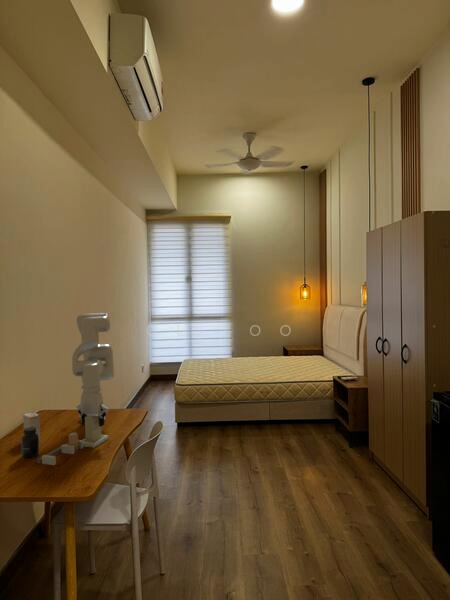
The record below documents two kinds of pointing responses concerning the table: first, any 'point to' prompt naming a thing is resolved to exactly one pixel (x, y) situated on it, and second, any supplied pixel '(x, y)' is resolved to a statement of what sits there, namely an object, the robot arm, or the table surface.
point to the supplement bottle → (30, 443)
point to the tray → (88, 444)
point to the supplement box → (32, 422)
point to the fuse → (74, 441)
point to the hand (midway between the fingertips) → (93, 424)
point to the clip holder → (51, 457)
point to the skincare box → (92, 428)
